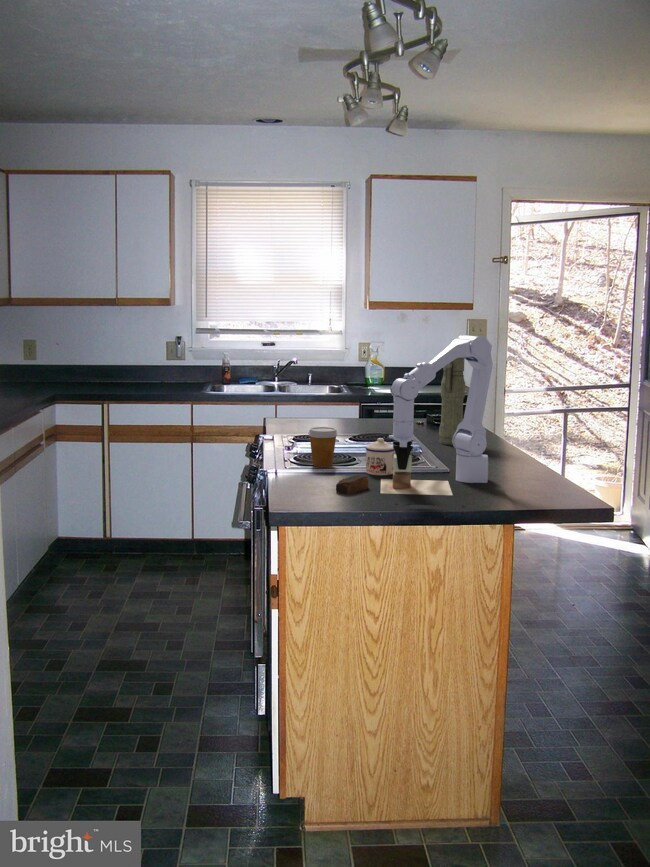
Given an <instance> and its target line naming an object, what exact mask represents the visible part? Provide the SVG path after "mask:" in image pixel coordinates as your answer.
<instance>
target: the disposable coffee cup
mask: <svg viewBox="0 0 650 867" xmlns="http://www.w3.org/2000/svg"><path fill="white" fill-rule="evenodd" d="M338 434H339V433H338V432H337V428H335V427H327V426H316V427H311V428H309V431H308V436H309V441H310V449H311V450H310V451H311V452H310V453H311V459H312V461H311V462H312V466H313V465H314V466H313V467H317V468H331V467H333V463H334V462H333V461H334V455H335V448H336V441H337V436H338Z"/></svg>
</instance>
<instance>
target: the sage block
mask: <svg viewBox="0 0 650 867" xmlns="http://www.w3.org/2000/svg"><path fill="white" fill-rule="evenodd" d="M412 461H413V457H412V454H410V455H409V458H408V463H407V468H406V470H399V469H398V464H397V456H396V453H394V472H411V473H412V466H413V465H412V464H413V462H412Z"/></svg>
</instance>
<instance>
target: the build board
mask: <svg viewBox="0 0 650 867" xmlns="http://www.w3.org/2000/svg"><path fill="white" fill-rule="evenodd" d="M380 494H389V495H390V494H392V495H393V494H394V495H395V494H397V495H423V496H424V495H425V496H426V495H428V496H430V495H431V496H453V492H452V488H451V486H450V483H449V481H448V480H430V479H428V480H427V479H424V480H423V479H411V486H410V489H408V488H393V478H392V479H391V478H380Z"/></svg>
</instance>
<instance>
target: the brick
mask: <svg viewBox="0 0 650 867" xmlns="http://www.w3.org/2000/svg"><path fill="white" fill-rule="evenodd" d="M366 489H369V477H368V476H367V475H363V474H355V475H353V476H349V477H346V478H343V479H341V480H339V481H338V482H337V484H336V485H335V491H336V493H337V494H341V495H346V496H347V495H350V494H353V493H357V492H360V491H364V490H366Z"/></svg>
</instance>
